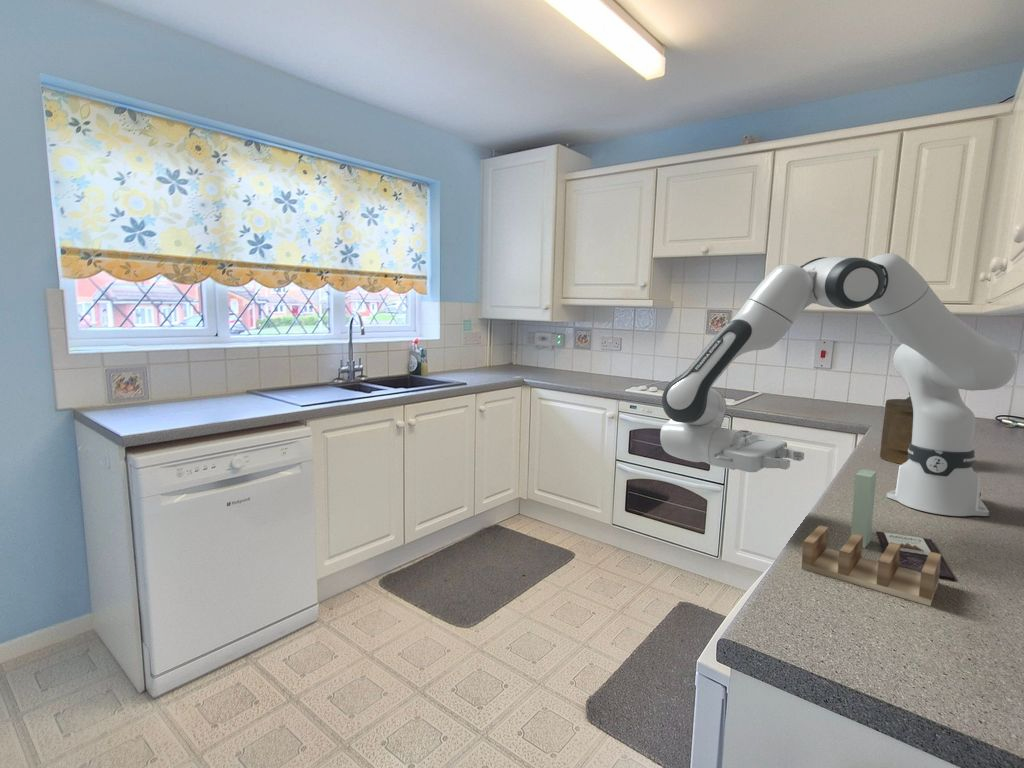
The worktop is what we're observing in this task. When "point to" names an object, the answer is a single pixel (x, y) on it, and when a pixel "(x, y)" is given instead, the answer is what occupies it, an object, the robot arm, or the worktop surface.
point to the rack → (871, 567)
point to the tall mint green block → (863, 504)
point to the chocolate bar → (914, 552)
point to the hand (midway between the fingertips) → (796, 460)
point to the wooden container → (897, 430)
